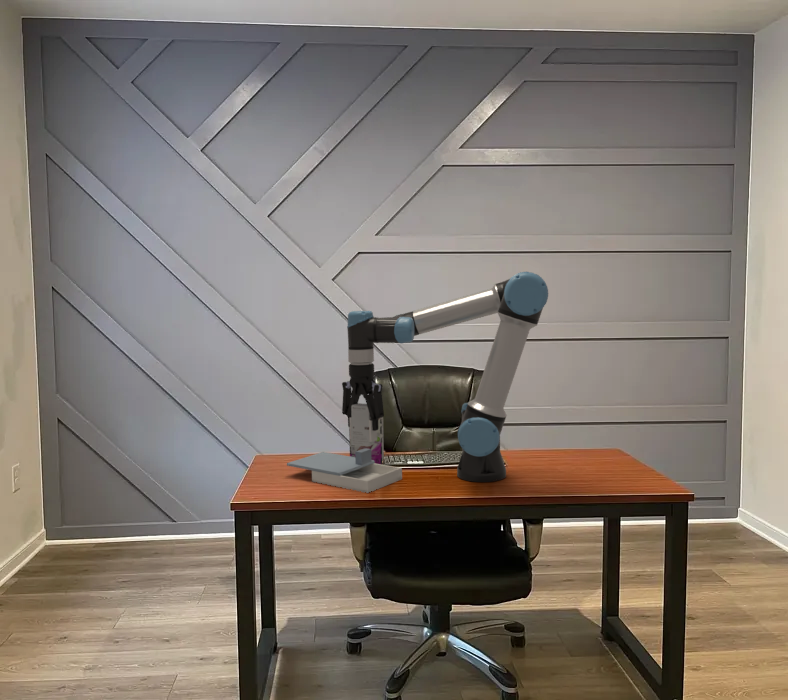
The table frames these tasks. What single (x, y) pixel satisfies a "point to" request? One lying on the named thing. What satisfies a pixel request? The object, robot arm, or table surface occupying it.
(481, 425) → the robot arm
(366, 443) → the skincare box
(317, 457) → the lid
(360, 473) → the white shallow tray
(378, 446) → the candy bar box
